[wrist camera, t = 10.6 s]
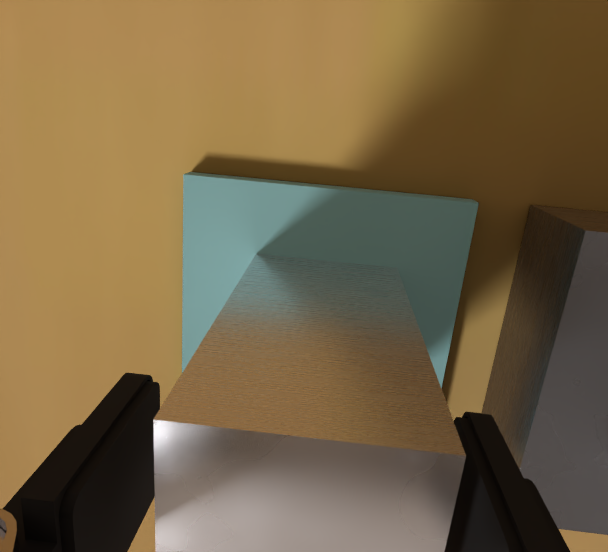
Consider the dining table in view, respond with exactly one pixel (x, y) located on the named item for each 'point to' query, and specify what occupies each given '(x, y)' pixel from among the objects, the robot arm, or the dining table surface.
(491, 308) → the dining table surface
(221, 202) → the teal mat
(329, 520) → the steel peg
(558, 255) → the rail
